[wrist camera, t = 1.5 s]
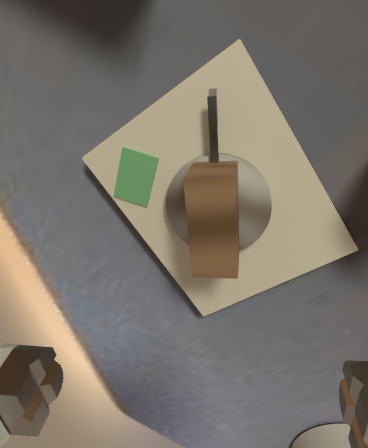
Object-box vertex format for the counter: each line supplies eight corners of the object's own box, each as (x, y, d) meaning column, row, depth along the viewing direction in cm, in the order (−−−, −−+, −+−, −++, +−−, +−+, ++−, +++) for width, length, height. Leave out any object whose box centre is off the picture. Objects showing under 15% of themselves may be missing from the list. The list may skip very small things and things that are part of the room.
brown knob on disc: (270, 250, 35) (273, 284, 29) (172, 248, 36) (159, 281, 31) (273, 90, 28) (279, 97, 23) (156, 99, 30) (136, 107, 25)
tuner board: (353, 240, 35) (359, 251, 33) (205, 305, 42) (203, 318, 40) (240, 39, 29) (239, 38, 27) (89, 153, 36) (80, 158, 34)
